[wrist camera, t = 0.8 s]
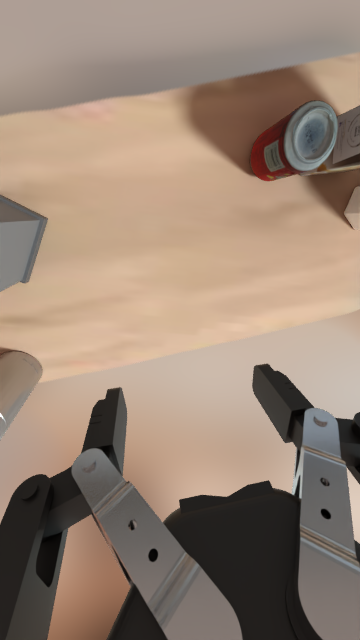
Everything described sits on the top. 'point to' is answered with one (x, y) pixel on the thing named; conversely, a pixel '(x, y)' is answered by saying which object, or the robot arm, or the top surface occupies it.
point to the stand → (18, 241)
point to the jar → (354, 209)
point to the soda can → (295, 142)
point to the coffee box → (343, 146)
